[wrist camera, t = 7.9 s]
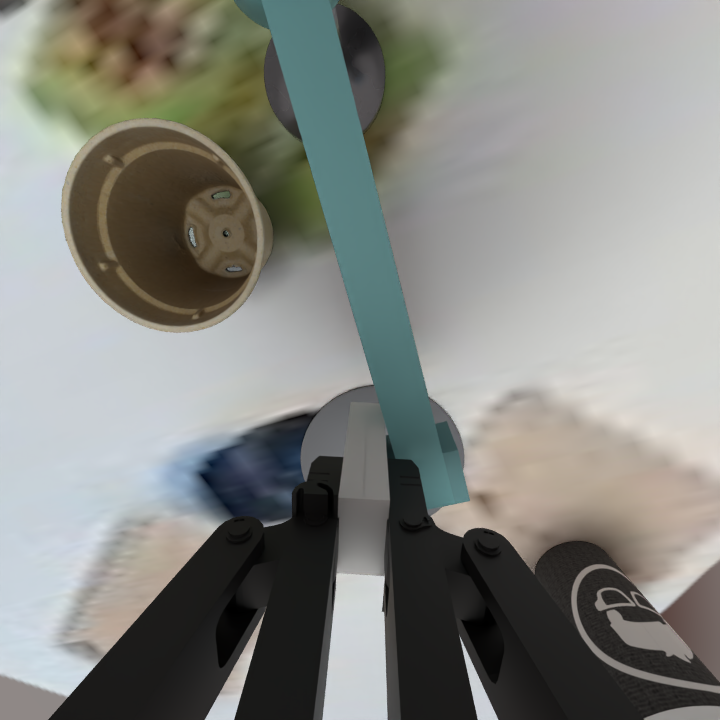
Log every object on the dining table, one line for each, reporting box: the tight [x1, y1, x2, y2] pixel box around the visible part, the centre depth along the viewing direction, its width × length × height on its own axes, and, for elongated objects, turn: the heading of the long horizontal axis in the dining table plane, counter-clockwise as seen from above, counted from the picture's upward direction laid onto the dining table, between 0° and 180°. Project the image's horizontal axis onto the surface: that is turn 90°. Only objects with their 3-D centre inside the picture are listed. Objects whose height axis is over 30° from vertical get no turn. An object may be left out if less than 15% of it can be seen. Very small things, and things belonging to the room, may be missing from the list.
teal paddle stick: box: [234, 0, 470, 510], centre depth 13 cm, size 22×4×3 cm, turn 16°
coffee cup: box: [535, 542, 720, 720], centre depth 26 cm, size 10×10×15 cm
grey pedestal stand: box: [264, 4, 385, 142], centre depth 18 cm, size 7×7×11 cm
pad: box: [301, 385, 464, 516], centre depth 31 cm, size 13×13×1 cm
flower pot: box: [61, 118, 273, 333], centre depth 22 cm, size 9×9×9 cm
